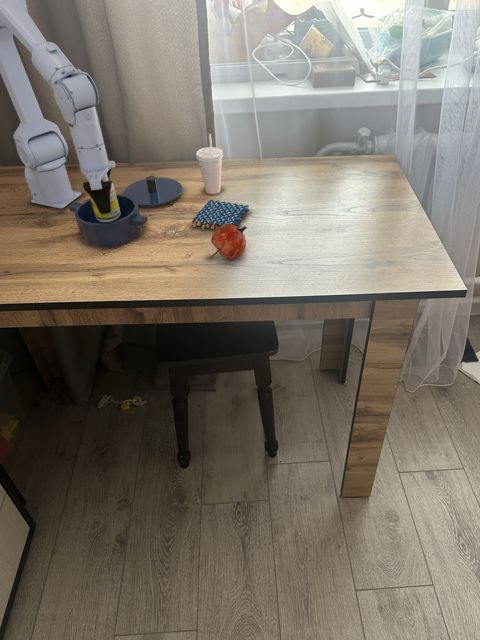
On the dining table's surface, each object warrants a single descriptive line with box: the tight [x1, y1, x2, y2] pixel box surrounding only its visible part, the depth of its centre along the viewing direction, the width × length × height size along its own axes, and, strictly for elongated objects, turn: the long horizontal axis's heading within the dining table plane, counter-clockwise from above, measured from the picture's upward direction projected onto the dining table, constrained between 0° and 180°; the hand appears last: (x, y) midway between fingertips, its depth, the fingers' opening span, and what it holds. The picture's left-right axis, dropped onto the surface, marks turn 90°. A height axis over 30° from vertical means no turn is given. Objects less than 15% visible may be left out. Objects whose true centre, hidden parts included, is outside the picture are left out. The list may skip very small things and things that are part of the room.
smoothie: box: [195, 133, 224, 195], centre depth 121 cm, size 6×6×14 cm
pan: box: [68, 193, 148, 248], centre depth 112 cm, size 13×19×6 cm
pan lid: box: [123, 175, 184, 208], centre depth 124 cm, size 14×14×4 cm
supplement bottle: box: [87, 173, 121, 222], centre depth 108 cm, size 5×5×10 cm
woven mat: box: [191, 199, 250, 230], centre depth 115 cm, size 10×11×2 cm
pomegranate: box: [209, 224, 248, 261], centre depth 103 cm, size 7×7×10 cm
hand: (105, 206), depth 109 cm, fingers closed on supplement bottle, 5 cm apart
